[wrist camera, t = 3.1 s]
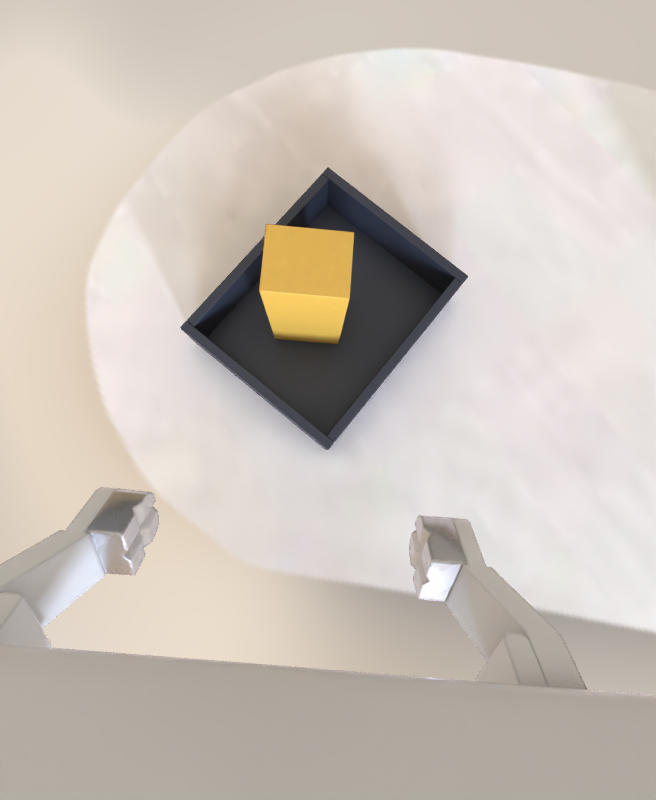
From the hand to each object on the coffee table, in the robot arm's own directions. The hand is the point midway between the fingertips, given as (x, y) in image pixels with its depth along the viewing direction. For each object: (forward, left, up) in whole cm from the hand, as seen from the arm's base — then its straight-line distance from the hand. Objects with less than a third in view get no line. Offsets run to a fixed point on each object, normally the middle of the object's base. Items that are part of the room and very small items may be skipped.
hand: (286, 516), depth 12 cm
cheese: (-10, -7, -17) cm, 21 cm away
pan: (-11, -6, -17) cm, 21 cm away
